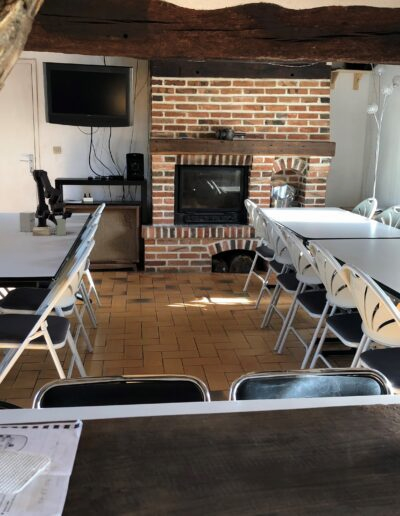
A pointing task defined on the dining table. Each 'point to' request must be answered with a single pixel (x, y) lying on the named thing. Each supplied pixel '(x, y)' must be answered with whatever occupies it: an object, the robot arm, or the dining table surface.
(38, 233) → the birch plinth
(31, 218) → the supplement box
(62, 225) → the sage block
